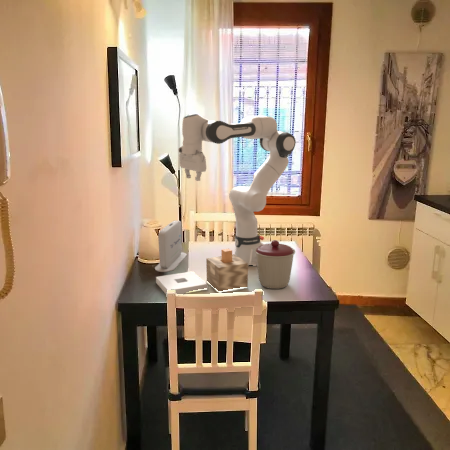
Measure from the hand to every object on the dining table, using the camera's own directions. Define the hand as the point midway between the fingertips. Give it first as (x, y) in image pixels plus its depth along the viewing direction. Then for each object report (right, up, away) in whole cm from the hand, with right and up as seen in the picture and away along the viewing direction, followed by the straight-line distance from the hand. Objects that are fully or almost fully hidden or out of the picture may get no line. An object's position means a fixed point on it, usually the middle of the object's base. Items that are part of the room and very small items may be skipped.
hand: (193, 179), depth 217 cm
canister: (+37, -49, -7) cm, 62 cm away
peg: (+16, -42, -9) cm, 46 cm away
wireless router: (-13, -41, +25) cm, 50 cm away
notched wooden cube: (+16, -49, -8) cm, 52 cm away
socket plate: (-5, -49, -8) cm, 50 cm away
